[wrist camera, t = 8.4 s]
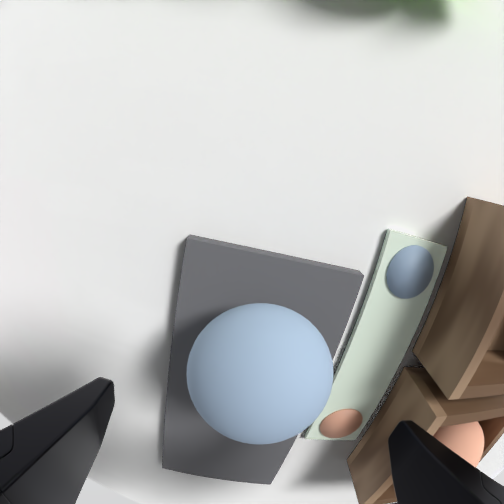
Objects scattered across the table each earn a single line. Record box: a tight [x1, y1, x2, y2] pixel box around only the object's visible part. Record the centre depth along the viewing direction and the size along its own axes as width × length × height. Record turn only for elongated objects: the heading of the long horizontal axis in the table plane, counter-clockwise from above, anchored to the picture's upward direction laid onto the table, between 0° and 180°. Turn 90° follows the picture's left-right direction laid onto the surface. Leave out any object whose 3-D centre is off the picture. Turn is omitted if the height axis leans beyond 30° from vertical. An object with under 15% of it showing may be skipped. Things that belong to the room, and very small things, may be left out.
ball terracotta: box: [433, 421, 484, 467], centre depth 12 cm, size 5×5×5 cm
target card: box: [305, 229, 448, 440], centre depth 13 cm, size 12×3×1 cm, turn 168°
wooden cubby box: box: [347, 367, 504, 504], centre depth 13 cm, size 8×8×4 cm
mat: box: [162, 235, 364, 484], centre depth 14 cm, size 15×7×1 cm, turn 168°
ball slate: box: [187, 303, 333, 444], centre depth 10 cm, size 5×5×5 cm
